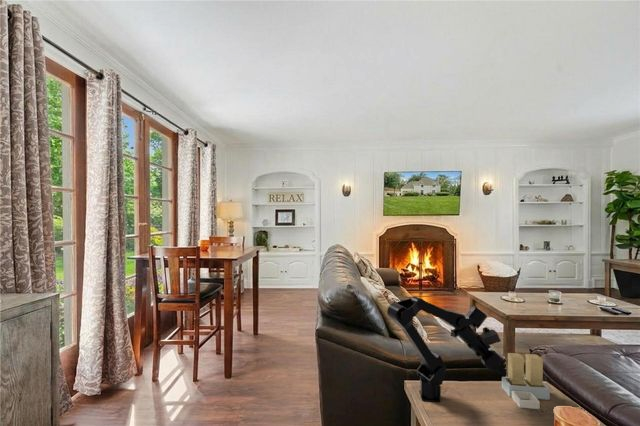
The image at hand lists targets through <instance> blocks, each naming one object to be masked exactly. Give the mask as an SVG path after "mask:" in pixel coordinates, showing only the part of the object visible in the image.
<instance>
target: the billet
mask: <svg viewBox="0 0 640 426" xmlns="http://www.w3.org/2000/svg"><path fill="white" fill-rule="evenodd" d="M507 377H508V382H509V383H510V385H515V386H524V378H525V357H524V356H522V355H521V354H520V353H517V352H516V353H513V352H508V353H507Z"/></svg>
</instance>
